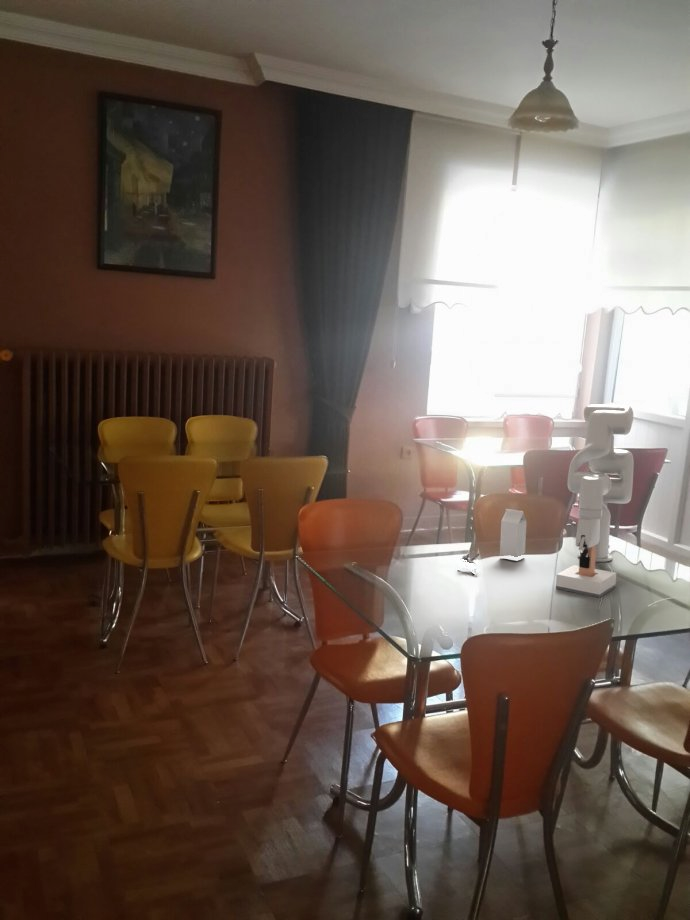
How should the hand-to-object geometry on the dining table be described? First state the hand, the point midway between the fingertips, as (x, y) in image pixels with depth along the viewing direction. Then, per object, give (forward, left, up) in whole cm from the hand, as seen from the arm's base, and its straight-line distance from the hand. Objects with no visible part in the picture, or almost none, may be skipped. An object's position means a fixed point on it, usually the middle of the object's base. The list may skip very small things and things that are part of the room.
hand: (587, 565), depth 280 cm
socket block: (0, 0, -8) cm, 8 cm away
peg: (0, 0, -5) cm, 5 cm away
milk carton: (-17, -36, -8) cm, 41 cm away
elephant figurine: (+8, -39, -8) cm, 41 cm away
